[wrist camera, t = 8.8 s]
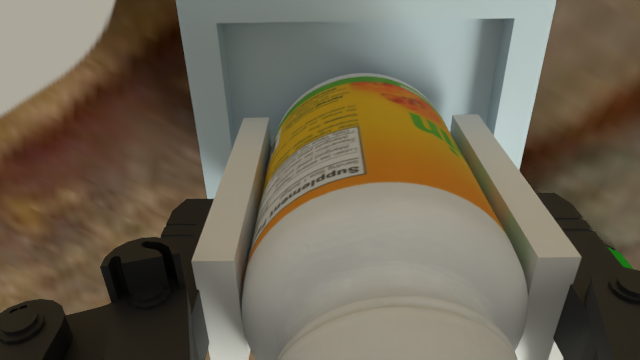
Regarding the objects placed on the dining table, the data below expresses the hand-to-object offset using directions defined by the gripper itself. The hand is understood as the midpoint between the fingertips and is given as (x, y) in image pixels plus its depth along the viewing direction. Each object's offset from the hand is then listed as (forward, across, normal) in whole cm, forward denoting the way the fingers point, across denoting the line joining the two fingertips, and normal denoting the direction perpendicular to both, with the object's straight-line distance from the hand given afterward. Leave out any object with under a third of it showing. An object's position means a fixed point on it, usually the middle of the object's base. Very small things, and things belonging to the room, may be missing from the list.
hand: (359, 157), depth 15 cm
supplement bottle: (+1, 0, 0) cm, 1 cm away
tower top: (+6, 0, 0) cm, 6 cm away
